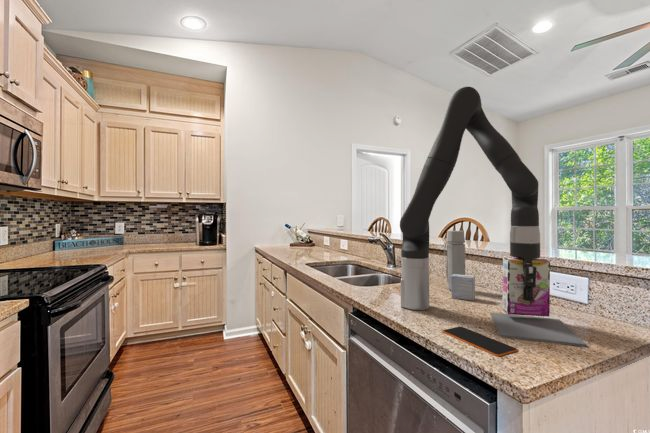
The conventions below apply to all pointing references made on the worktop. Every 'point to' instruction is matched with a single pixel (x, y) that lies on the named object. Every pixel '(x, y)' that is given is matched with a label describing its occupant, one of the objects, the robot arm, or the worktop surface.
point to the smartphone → (480, 341)
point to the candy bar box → (514, 288)
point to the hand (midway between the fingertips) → (525, 297)
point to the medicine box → (463, 287)
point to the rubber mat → (535, 329)
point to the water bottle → (454, 255)
